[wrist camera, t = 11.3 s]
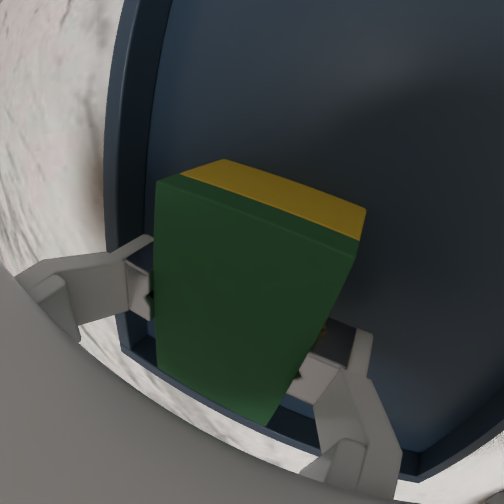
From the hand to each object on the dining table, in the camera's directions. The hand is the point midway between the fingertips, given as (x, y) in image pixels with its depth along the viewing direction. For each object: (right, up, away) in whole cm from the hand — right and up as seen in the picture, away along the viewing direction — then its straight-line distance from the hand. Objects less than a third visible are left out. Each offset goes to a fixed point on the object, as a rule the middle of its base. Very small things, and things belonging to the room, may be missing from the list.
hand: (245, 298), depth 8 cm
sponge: (+1, 0, +1) cm, 2 cm away
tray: (+4, +4, -1) cm, 6 cm away
